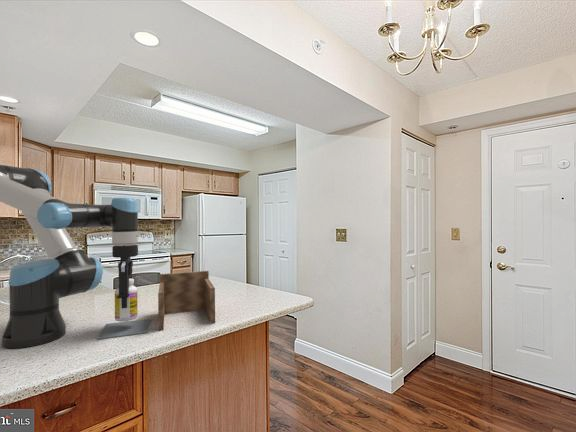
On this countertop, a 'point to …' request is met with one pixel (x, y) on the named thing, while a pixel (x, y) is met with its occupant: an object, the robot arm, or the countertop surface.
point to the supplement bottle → (132, 302)
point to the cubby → (185, 294)
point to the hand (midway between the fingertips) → (126, 314)
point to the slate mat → (125, 329)
